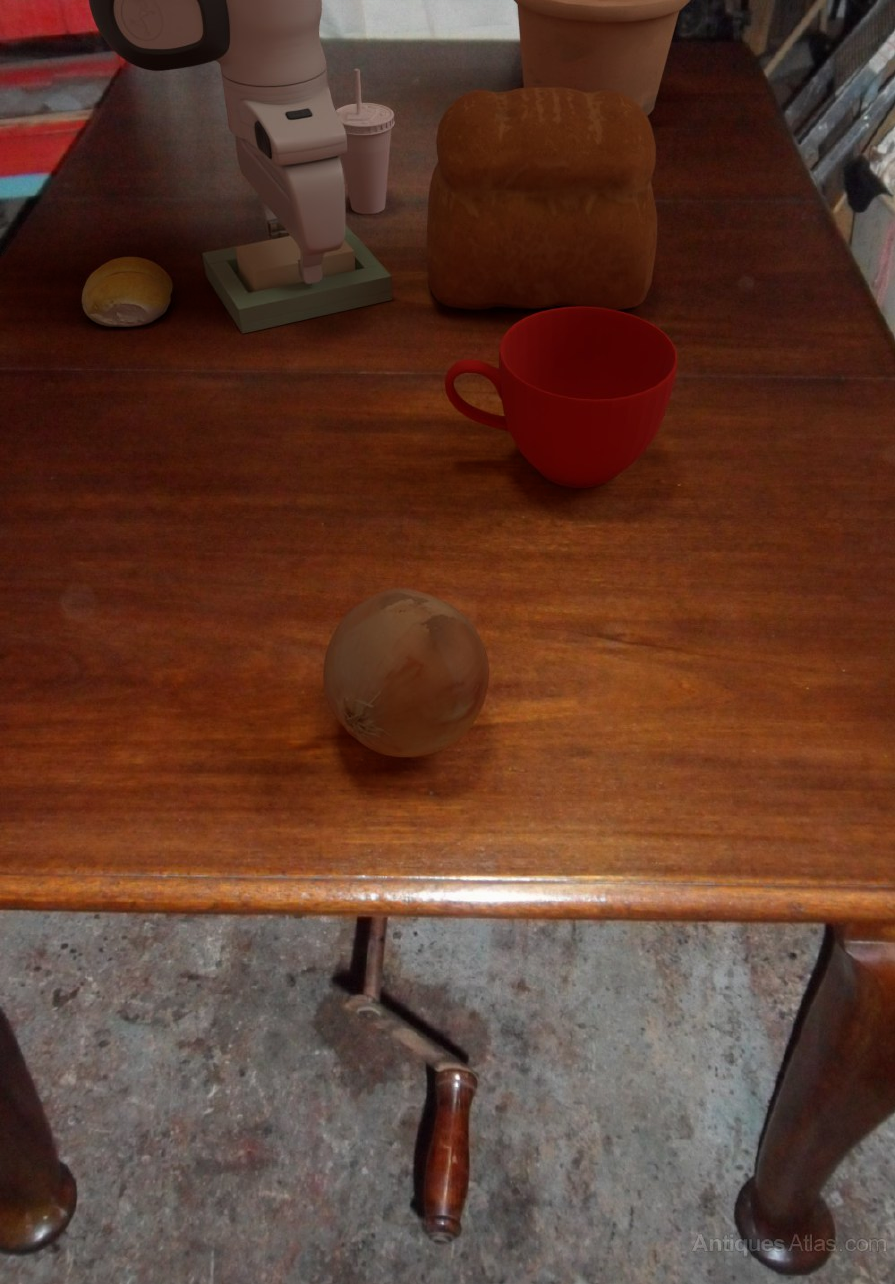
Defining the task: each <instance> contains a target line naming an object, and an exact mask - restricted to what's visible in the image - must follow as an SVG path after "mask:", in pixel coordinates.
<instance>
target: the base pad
mask: <svg viewBox="0 0 895 1284" xmlns="http://www.w3.org/2000/svg"><path fill="white" fill-rule="evenodd" d="M289 236H291V235H290V234H289ZM267 240H268V239H266V240H264V241H267ZM269 240H272V238H270V239H269ZM344 240H345V241H346V242H347V243H348V244H349V246H350V247H351V248H352V249H353V250H354V256H355V271H350V272H345V273H341V274H336V275H331V276H327V277H322V280H321V281H320V282H317V283H312V284H306V283H305V282H304V281H303V282H299V283H294V284H289V285H285V286H280V287H275V288H271V289H266V290H261V291H257V292H252V293H251V292H250V291H249V289H248V288H247V286H246V285H245V283H244V282H243V280H242V279H241V277H240V275H239V268H238V261H237V255H236V248H235V247H238V246H243V245H248V244H252V243H253V242H250V243H246V244H241V245H237V246H230V247H226V248H221V249H216V250H211V251H210V250H209V251H206V252H202V261H203V265H204V271H205V276H206V279H207V280H208V282H209V283H210V285H211V287H213V290H214V291H215V293H216V295H217V296H218V298H219V299H220V301H221V302H222V304H223V306H224V308H225V309H226V310H227V312H228V314H229V315H230V316H231V318H232V320H233V321H234V323H235V324H236V325H235V326H237V328H238V329H239V331H240V333H241V334H243V335H244V334H249V333H254V332H258V331H262V330H267V329H270V328H274V327H279V326H284V325H289V324H293V323H297V322H301V321H306V320H310V319H314V318H318V317H323V316H328V315H332V314H337V313H341V312H345V311H350V310H354V309H359V308H363V307H368V306H372V305H376V304H381V303H385V302H391V301H392V300H393V281H392V279H393V278H392V277H393V276H392V275H391V273H389V272H388V271H389V270H387V268H385V267H384V265H382V263H381V262H380V261H379V260H378V259H377V258H376V256H374V254H373V252H371V251H370V250H369V249H368V248H367V246H366V245H365V244H364V243H363V241H361V239H360V238H359V237H358V236H357V235H356V234H355V233H354V231H352V229H351V228H350V227H349V226H348V225H347V224H346V223H345V238H344ZM262 241H263V240H260V241H259V242H262ZM257 242H258V241H256V242H254V243H257Z"/></svg>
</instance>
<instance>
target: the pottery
mask: <svg viewBox="0 0 895 1284" xmlns="http://www.w3.org/2000/svg"><path fill="white" fill-rule="evenodd" d="M513 2H514V3H515V4H516V6H517V17H518V19H517V20H518V30H519V44H520V45H519V46H520V55H521V56H520V57H521V58H520V59H521V70H522V82H523V84H522V85H523V88H528V87H562V88H570V89H575V90H578V91H582V92H585V93H590V92H596V91H601V90H613V91H617V92H621V93H623V94H625V95H627V96H629V97H630V98H631V99H633V100H634V101H635V102H636V103H637V104H638V105H639V106H640V108H641V109H642V110H643V111H644V113H645V114H646V115H647V117H648V116H649V115H650V114H651V113H652V112H653V111H654V110H655V105H656V100H657V96H658V93H659V89H660V85H661V81H662V78H663V73H664V70H665V67H666V63H667V59H668V55H669V53H670V52H669V51H670V47H671V44H672V39H673V36H674V32H675V30H676V29H675V28H676V24H677V22H678V17H679V14H680V11H681V10H682V9H683V8H684V7H686V6H687V5H688V4H689V3H690V2H691V0H513Z"/></svg>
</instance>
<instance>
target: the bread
mask: <svg viewBox="0 0 895 1284" xmlns="http://www.w3.org/2000/svg"><path fill="white" fill-rule="evenodd" d="M435 144H436V155H437V162H436V165H435V167H434V169H433V172H432V176H431V179H430V183H429V191H428V200H427V202H428V203H427V221H426V269H427V276H428V277H427V279H428V285H429V286H428V287H429V288H430V289H429V290H430V291H431V293H432V295H433V297H434V298H435V299H436V300H437V301H438V302H439V303H440V304H442V305H444V306H445V307H449V308H454V309H460V310H461V309H462V310H481V311H482V310H489V309H493V308H498V307H502V308H510V309H525V310H537V309H545V308H554V307H561V306H562V307H582V306H583V307H598V308H605V309H611V310H616V311H620V310H625V309H626V310H627V309H631V308H636V307H637V306H639V305H641V304H642V303H644V302H645V299H646V298H647V295H648V292H649V290H650V287H651V285H652V282H653V273H654V266H655V261H656V252H657V246H658V245H657V242H658V211H657V206H656V202H655V196H654V190H653V185H652V178H653V174H654V171H655V167H656V163H657V162H656V160H657V146H656V140H655V136H654V131H653V127H652V124H651V122H650V119H649V117H648V116H647V115H646V114H645V113H644V111H643V110H642V109H641V108H640V106H639V105H638V104H637V103H636V102H635V101H634V100H633V99H631V98H630V97H629V96H627V95H625V94H623V93H621V92H617V91H613V90H601V91H596V92H590V93H585V92H582V91H578V90H575V89H570V88H562V87H528V88H524V87H519V88H515V89H511V90H506V91H501V92H495V91H491V90H486V89H485V90H484V89H481V90H480V89H475V90H471V91H468V92H466V93H463V94H462V95H461V96H459V97H458V98H456V99H455V100H454V101H453V102H452V103H451V104H450V105H449V106H448V108H447V109H446V111H444V112H443V114H442V116H441V118H440V120H439V123H438V127H437V134H436V139H435Z"/></svg>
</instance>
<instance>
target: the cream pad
mask: <svg viewBox="0 0 895 1284" xmlns="http://www.w3.org/2000/svg"><path fill="white" fill-rule="evenodd" d="M271 239H272V238H271ZM266 240H267V241H265V240H261V241H262V242H260V241H256V242H257V243H255V242H251V243H252V244H250V243H247V244H248V245H245V244H242V245H243V246H240V245H237V246H238V247H235V246H234V247H235V248H236V255H237V261H238V268H239V275H240V277H241V279H242V280H243V282H244V283H245V285H246V286H247V288H248V289H249V291H250V292H251V293H252V292H257V291H261V290H266V289H271V288H275V287H280V286H285V285H289V284H294V283H299V282H303V279H302V278H301V276H300V275H299V267H298V260H300V249H299V248H298V244H297V243H296V242H295V241H294V239H293V238H292V237H291V236H290V235H289V236H287V237H282V238H277V239H272V240H270V239H266ZM321 266H322V277H327V276H331V275H336V274H341V273H345V272H350V271H355V256H354V250H353V249H352V248H351V247H350V246H349V244H348V243H347V242H346V241H345V240H344V241H343V244H342V246H341V248H340V249H338V250H335V251H331V252H326V253H324V257H323V260H322V263H321Z"/></svg>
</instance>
